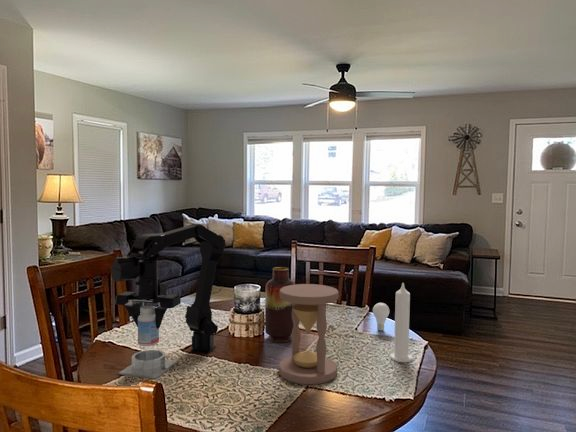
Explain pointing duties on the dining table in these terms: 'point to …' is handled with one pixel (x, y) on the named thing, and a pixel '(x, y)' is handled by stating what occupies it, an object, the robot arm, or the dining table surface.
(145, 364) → the duct collar
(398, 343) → the candle
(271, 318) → the vase
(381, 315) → the lightbulb
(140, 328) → the pill bottle
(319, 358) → the hourglass
